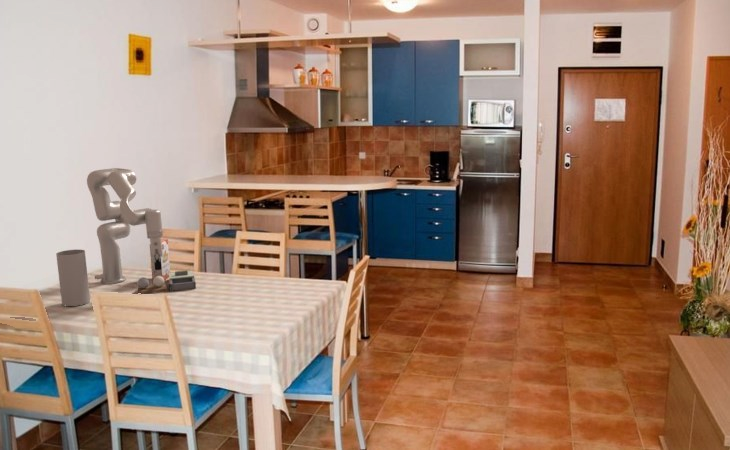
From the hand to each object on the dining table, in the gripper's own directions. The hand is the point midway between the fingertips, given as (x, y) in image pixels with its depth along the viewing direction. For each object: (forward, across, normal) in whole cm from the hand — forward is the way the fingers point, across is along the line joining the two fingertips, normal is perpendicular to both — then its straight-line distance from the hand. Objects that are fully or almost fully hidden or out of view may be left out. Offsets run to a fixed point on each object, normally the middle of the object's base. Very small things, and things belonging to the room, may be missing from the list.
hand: (158, 267), depth 346 cm
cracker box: (+11, +23, -1) cm, 25 cm away
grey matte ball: (+7, +1, +8) cm, 11 cm away
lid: (+8, +11, -11) cm, 18 cm away
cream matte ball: (+7, +1, 0) cm, 7 cm away
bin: (+12, +7, -11) cm, 18 cm away
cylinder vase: (+11, -8, +39) cm, 41 cm away
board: (+12, +1, +4) cm, 12 cm away
